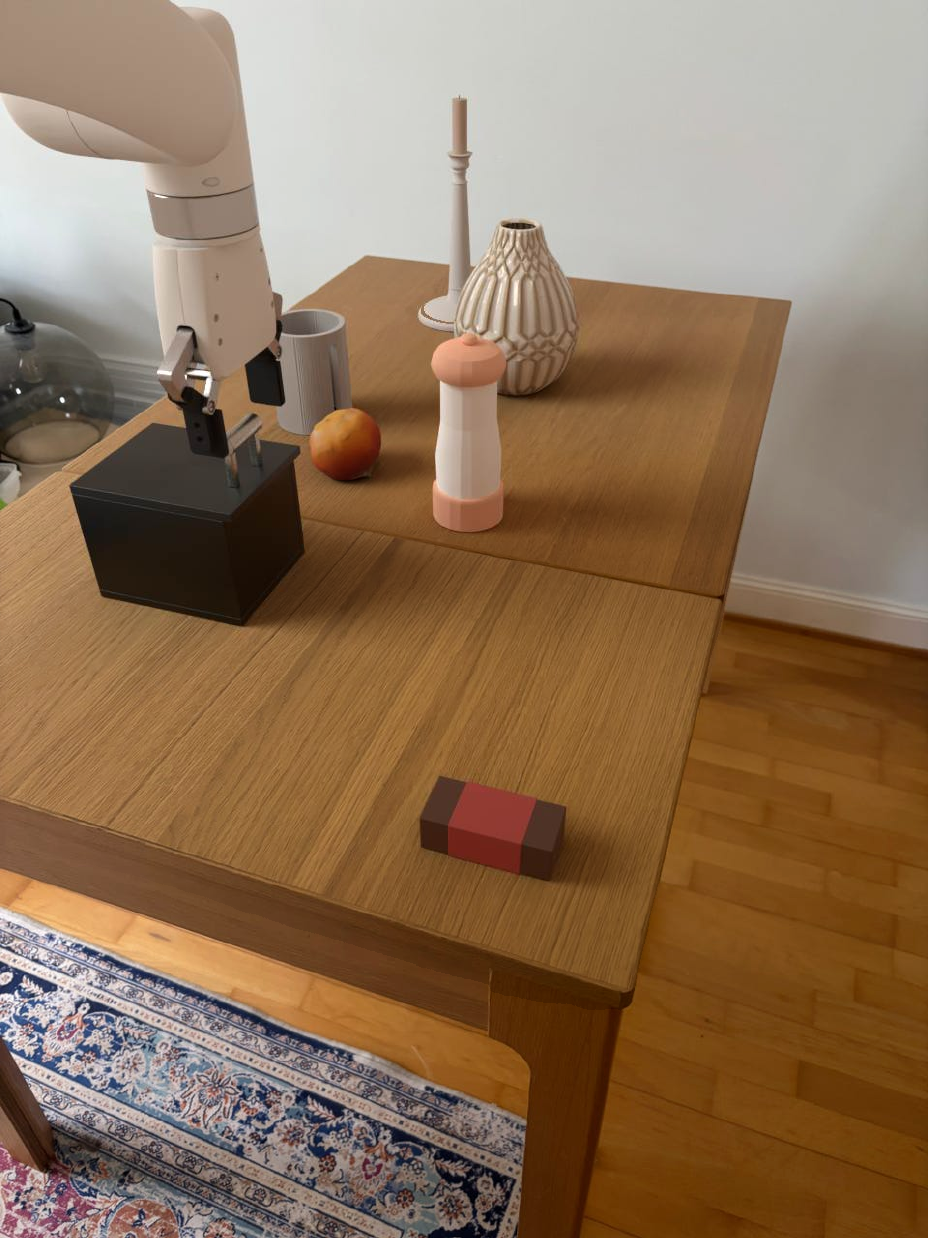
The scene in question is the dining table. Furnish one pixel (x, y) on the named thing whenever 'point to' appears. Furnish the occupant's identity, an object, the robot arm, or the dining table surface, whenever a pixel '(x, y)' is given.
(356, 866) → the dining table surface
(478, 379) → the salt shaker
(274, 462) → the black lid
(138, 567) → the trash bin
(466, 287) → the vase
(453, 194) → the candlestick
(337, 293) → the dining table surface
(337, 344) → the cup
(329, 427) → the fruit
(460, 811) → the chocolate bar
